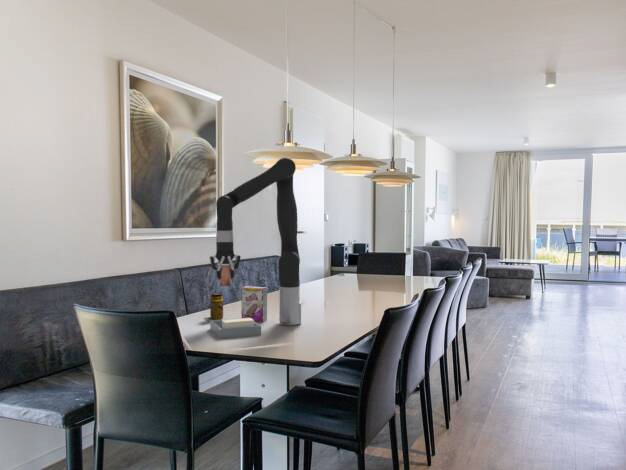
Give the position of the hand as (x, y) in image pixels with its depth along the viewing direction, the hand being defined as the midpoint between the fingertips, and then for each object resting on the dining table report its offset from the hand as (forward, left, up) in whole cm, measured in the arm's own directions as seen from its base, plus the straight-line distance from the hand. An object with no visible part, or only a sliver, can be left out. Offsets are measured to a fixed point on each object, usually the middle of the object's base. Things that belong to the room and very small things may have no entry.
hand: (225, 278), depth 228 cm
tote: (0, +17, -21) cm, 27 cm away
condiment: (+1, -17, -21) cm, 27 cm away
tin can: (0, 0, -3) cm, 3 cm away
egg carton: (0, +21, -20) cm, 29 cm away
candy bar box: (-14, -2, -21) cm, 26 cm away
